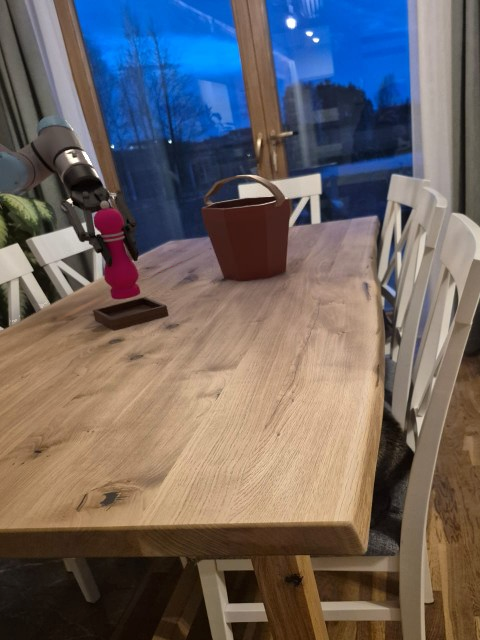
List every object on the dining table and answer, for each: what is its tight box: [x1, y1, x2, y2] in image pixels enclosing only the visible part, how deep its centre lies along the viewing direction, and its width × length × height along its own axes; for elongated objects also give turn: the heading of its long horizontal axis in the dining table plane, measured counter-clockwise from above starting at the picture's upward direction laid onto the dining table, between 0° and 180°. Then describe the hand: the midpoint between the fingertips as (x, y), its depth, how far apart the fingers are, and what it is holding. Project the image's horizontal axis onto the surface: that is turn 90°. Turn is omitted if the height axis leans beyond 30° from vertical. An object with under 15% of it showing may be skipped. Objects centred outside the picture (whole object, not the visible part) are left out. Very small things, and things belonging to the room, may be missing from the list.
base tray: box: [92, 296, 169, 331], centre depth 130 cm, size 13×13×2 cm
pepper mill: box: [93, 201, 141, 300], centre depth 124 cm, size 7×7×20 cm
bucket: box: [200, 174, 291, 282], centre depth 153 cm, size 24×22×25 cm
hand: (123, 259), depth 122 cm, fingers closed on pepper mill, 5 cm apart
